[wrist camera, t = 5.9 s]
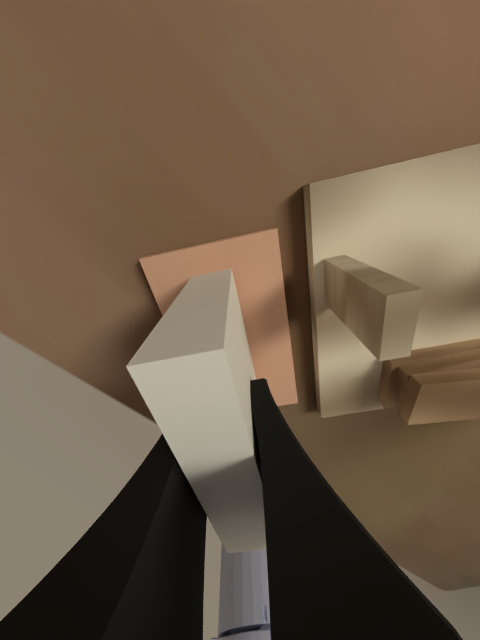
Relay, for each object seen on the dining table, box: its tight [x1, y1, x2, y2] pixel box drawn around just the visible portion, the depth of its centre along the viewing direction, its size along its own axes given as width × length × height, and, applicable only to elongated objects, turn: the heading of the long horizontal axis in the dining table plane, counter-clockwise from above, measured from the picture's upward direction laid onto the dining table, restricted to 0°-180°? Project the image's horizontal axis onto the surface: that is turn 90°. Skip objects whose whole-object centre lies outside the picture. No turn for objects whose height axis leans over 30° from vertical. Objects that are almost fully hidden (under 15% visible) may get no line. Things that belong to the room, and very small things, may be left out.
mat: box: [139, 228, 298, 406], centre depth 14 cm, size 12×7×1 cm, turn 12°
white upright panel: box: [126, 268, 266, 553], centre depth 9 cm, size 2×9×7 cm, turn 12°
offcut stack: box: [378, 339, 480, 425], centre depth 13 cm, size 4×6×2 cm
